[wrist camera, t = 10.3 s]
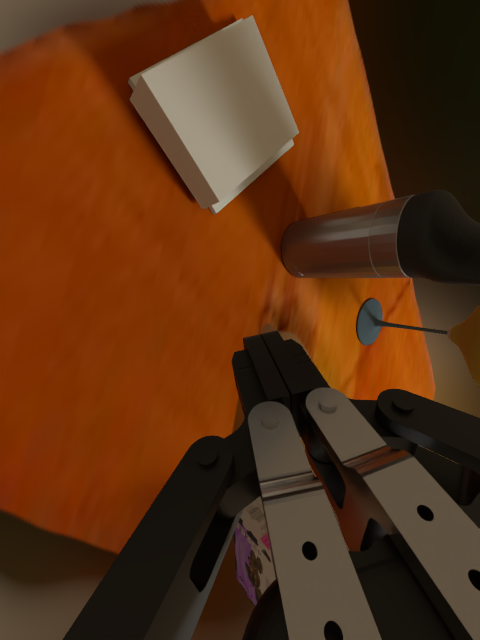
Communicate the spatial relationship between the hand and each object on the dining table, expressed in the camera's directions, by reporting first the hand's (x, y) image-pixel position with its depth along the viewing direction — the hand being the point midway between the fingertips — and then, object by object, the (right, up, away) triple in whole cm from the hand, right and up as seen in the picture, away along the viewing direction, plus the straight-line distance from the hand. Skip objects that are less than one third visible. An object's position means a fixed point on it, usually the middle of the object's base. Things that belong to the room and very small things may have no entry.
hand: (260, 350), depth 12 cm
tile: (-7, +19, +16) cm, 25 cm away
